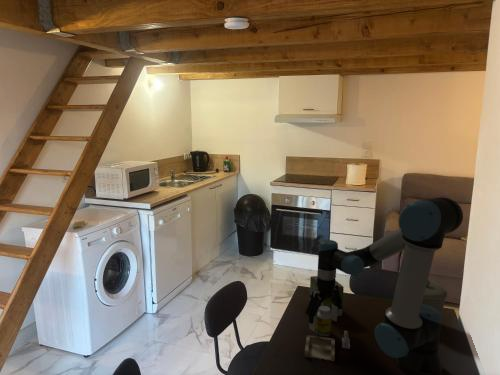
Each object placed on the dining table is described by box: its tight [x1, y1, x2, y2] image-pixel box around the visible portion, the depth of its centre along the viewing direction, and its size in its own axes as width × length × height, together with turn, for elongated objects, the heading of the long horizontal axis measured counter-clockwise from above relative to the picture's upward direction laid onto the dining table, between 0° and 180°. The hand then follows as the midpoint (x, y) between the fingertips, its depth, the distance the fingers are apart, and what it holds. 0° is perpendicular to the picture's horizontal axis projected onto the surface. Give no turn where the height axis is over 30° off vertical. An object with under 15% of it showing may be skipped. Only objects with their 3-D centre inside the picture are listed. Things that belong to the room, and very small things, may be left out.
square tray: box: [304, 334, 336, 362], centre depth 145 cm, size 11×11×3 cm
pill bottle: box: [315, 306, 333, 337], centre depth 158 cm, size 6×6×11 cm
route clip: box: [341, 330, 351, 350], centre depth 150 cm, size 3×6×4 cm, turn 168°
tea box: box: [309, 275, 345, 317], centre depth 177 cm, size 15×10×15 cm
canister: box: [422, 279, 449, 315], centre depth 165 cm, size 18×18×21 cm
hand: (323, 324), depth 158 cm, fingers open, 13 cm apart
